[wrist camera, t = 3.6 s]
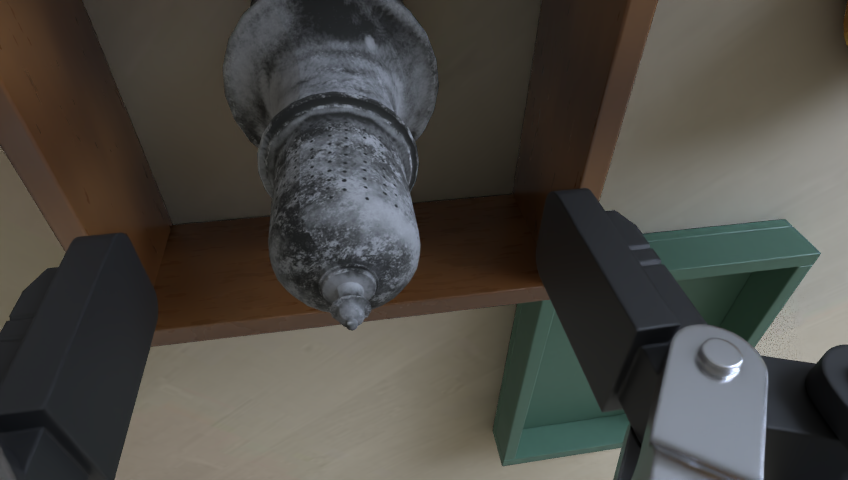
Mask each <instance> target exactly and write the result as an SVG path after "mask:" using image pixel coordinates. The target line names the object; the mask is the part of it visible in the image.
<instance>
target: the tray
mask: <svg viewBox="0 0 848 480" xmlns="http://www.w3.org/2000/svg"><path fill="white" fill-rule="evenodd" d="M643 236H644V237H645V238H646V240H647V241H648V242H649V244H650V248H653V249H654V251H655V252H656V254H657V255H658V256H659V258H660V259H661V264H664V265H665V266H666V267H667V269H668V270H669V272H670V273H671V274H672V276H673V277H674V279H675V280H676V281H677V283H678V284H679V285H680V287H681V288H682V290H683V291H684V292H685V294H686V295H687V297H688V298H689V299H690V301H691V302H692V303H693V305H694V306H695V308H696V309H697V310H698V312H699V313H700V315H701V316H702V317H703V319H704V320H705V321H706V323H707V324H708V325H713V326H717V327H720V328H724V329H726V330H728V331H731V332H733V333H735V334H737V335H738V336H740V337H741V338H743V339H744V340H746V341H747V342H748V343H749V344H751V345H752V346H753V347H755V346H756V344H757V343H758V342H759V340H760V339H761V337H762V336H763V335H764V333H765V332H766V330H767V329H768V327H769V326H770V325H771V323H772V322H773V320H774V319H775V318H776V316H777V315H778V313H779V312H780V310H781V309H782V308H783V306H784V305H785V303H786V302H787V301H788V299H789V298H790V296H791V295H792V294H793V292H794V291H795V289H796V288H797V286H798V285H799V284H800V282H801V281H802V279H803V278H804V277H805V275H806V274H807V272H808V271H809V269H810V268H811V267H812V265H813V264H814V263H815V261H816V260H817V258H818V257H819V256H820V254H821V253H820V252H819V251H818V250H817V249H816V248H815V247H814V246H813V245H812V244H811V243H810V242H809V241H808V240H807V239H806V238H805V237H804V236H802V235H801V234H800V233H799V232H798V231H797V230H796V229H795V228H794V227H792V225H791V224H790V223H789V222H788V221H787V220H785V219H782V220H772V221H762V222H753V223H743V224H733V225H724V226H714V227H705V228H695V229H685V230H676V231H666V232H656V233H647V234H643ZM629 423H630V422H629V420H628V418H627V416H626V414H625V412H624V410H623V409H622V410H615V411H609V412H601V410H600V407H599V405H598V403H597V401H596V399H595V397H594V394H593V392H592V390H591V388H590V386H589V383H588V381H587V379H586V377H585V375H584V373H583V370H582V368H581V366H580V364H579V362H578V359H577V357H576V355H575V353H574V351H573V348H572V346H571V344H570V342H569V340H568V338H567V335H566V333H565V331H564V329H563V327H562V324H561V322H560V320H559V318H558V316H557V314H556V311H555V309H554V307H553V305H552V303H551V300H545V301H536V302H528V303H519V304H517V308H516V313H515V318H514V323H513V328H512V333H511V338H510V344H509V349H508V354H507V359H506V364H505V369H504V375H503V380H502V385H501V390H500V395H499V400H498V405H497V411H496V416H495V421H494V426H493V434H494V437H495V442H496V445H497V449H498V453H499V456H500V460H501V464H502V466H507V465H514V464H520V463H527V462H533V461H539V460H546V459H552V458H559V457H565V456H571V455H578V454H584V453H590V452H597V451H603V450H610V449H616V448H622V444H623V440H624V436H625V433H626V430H627V427H628V425H629Z"/></svg>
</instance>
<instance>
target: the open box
mask: <svg viewBox="0 0 848 480" xmlns="http://www.w3.org/2000/svg"><path fill="white" fill-rule="evenodd" d="M657 3H658V0H542V4H541V11H540V17H539V24H538V30H537V37H536V43H535V50H534V57H533V63H532V70H531V76H530V83H529V89H528V96H527V102H526V109H525V115H524V122H523V128H522V135H521V142H520V148H519V155H518V161H517V168H516V174H515V181H514V187H513V194H509V195H498V196H487V197H476V198H465V199H454V200H443V201H432V202H421V203H412V204H413V209H414V213H415V218H416V222H417V226H418V231H419V237H420V244H421V246H420V256H419V261H418V266H417V270H416V272H415V273H414V275H413V277H412V279H411V281H410V282H409V283H408V284H407V286H406V287H405V288H404V289H403V290H402V291H401V292H400V293H399V294H398V295H397V296H396V297H395V298H394V299H392V300H391V301H389V302H387V303H386V304H384V305H383V306H380V307H377V308H375V309H372V310H371V312H370V314H369V316H368V317H367V318H365V319H364V320H363V322H366V321H374V320H383V319H392V318H400V317H409V316H417V315H426V314H434V313H443V312H451V311H460V310H468V309H477V308H485V307H494V306H502V305H511V304H519V303H528V302H536V301H545V300H550V298H549V296H548V294H547V292H546V290H545V287H544V285H543V283H542V281H541V279H540V276H539V273H538V269H537V264H536V246H537V241H538V235H539V230H540V225H541V220H542V215H543V210H544V205H545V200H546V197H547V195H548V193H549V192H551V191H560V190H570V189H580V188H588V189H589V190H591V191H592V193H593V194H594V196H595V197H596V199H597V200H598V202H599V200H600V197H601V193H602V190H603V187H604V183H605V180H606V176H607V173H608V170H609V166H610V163H611V159H612V156H613V153H614V149H615V146H616V142H617V139H618V136H619V132H620V129H621V125H622V122H623V119H624V115H625V112H626V108H627V105H628V101H629V98H630V95H631V91H632V88H633V84H634V81H635V78H636V74H637V71H638V67H639V64H640V61H641V57H642V54H643V50H644V47H645V44H646V40H647V37H648V33H649V30H650V26H651V23H652V20H653V16H654V13H655V9H656V6H657ZM0 146H1V147H2V149H3V151H4V152H5V154H6V155H7V157H8V159H9V160H10V162H11V164H12V165H13V167H14V169H15V170H16V172H17V173H18V175H19V177H20V178H21V180H22V182H23V183H24V185H25V187H26V188H27V190H28V191H29V193H30V195H31V196H32V198H33V200H34V201H35V203H36V205H37V206H38V208H39V210H40V211H41V213H42V214H43V216H44V218H45V219H46V221H47V223H48V224H49V226H50V228H51V229H52V231H53V232H54V234H55V236H56V237H57V239H58V241H59V242H60V244H61V246H62V247H63V249H64V250H65V252H67V250H68V248H69V246H70V244H71V242H72V241H73V239H74V238H76V237H81V236H91V235H101V234H111V233H124V234H126V235H127V236H128V237H129V239H130V240H131V242H132V244H133V246H134V248H135V250H136V252H137V254H138V256H139V258H140V261H141V263H142V265H143V267H144V269H145V271H146V273H147V275H148V277H149V279H150V281H151V283H152V285H153V287H154V289H155V292H156V295H157V300H158V320H157V324H156V328H155V332H154V335H153V339H152V343H151V346H150V347H153V346H162V345H170V344H179V343H187V342H196V341H204V340H213V339H221V338H230V337H238V336H247V335H255V334H264V333H272V332H281V331H289V330H298V329H306V328H315V327H323V326H332V325H340V322H338V321H337V320H335V319H334V318H333V317H332V316H331V313H330V312H324V311H320V310H318V309H315V308H312V307H310V306H307V305H306V304H304V303H303V302H301V301H300V300H298V299H297V298H295V297H294V296H293V295H291V294H290V293H289V292H288V291H287V290H286V289H285V288H284V287H283V286H282V284H281V283H280V282H279V281H278V280H277V277H276V275H275V273H274V271H273V268H272V265H271V261H270V257H269V245H268V238H269V227H270V216H266V217H255V218H244V219H233V220H222V221H211V222H200V223H189V224H178V225H172V222H171V220H170V217H169V215H168V212H167V210H166V207H165V205H164V202H163V200H162V197H161V195H160V192H159V190H158V187H157V185H156V183H155V180H154V178H153V175H152V173H151V170H150V168H149V165H148V163H147V160H146V158H145V155H144V153H143V150H142V148H141V145H140V143H139V141H138V138H137V136H136V133H135V131H134V128H133V126H132V123H131V121H130V118H129V116H128V113H127V111H126V108H125V106H124V103H123V101H122V99H121V96H120V94H119V91H118V89H117V86H116V84H115V81H114V79H113V76H112V74H111V71H110V69H109V66H108V64H107V61H106V59H105V57H104V54H103V52H102V49H101V47H100V44H99V42H98V39H97V37H96V34H95V32H94V29H93V27H92V24H91V22H90V19H89V17H88V15H87V12H86V10H85V7H84V5H83V2H82V0H0Z"/></svg>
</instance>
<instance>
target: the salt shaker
mask: <svg viewBox="0 0 848 480" xmlns="http://www.w3.org/2000/svg"><path fill="white" fill-rule="evenodd" d="M223 77H224V89H225V96H226V99H227V101H228V104H229V106H230V109H231V112H232V114H233V117H234V119H235V121H236V122H237V124H238V125H239V126H240V128H241V129H242V131H243V132H244V133H245V135H246V136H247V137H248V139H249V140H250V141H251V142H252V143H253V144H254V145H255V146H256V147H258V148H259V149H258V153H257V157H258V173H259V175H260V178H261V180H262V183H263V185H264V188H265V190H266V191H267V193H268V194H269V195H270V196H271V198H272V205H271V216H270V227H269V238H268V245H269V257H270V261H271V265H272V268H273V271H274V273H275V275H276V277H277V280H278V281H279V282H280V283H281V284H282V286H283V287H284V288H285V289H286V290H287V291H288V292H289V293H290V294H291V295H293V296H294V297H295V298H297V299H298V300H300V301H301V302H303V303H304V304H306V305H307V306H310V307H312V308H315V309H318V310H320V311H324V312H330V313H331V316H332V317H333V318H334V319H335V320H337V321H338V322H340V324H342V325H343V326H345V327H347V329H349V330H355V329H356V328H357V326H358V325H360V324H362V322H363V320H364V319H365V318H367V317H368V316H369V314H370V312H371V310H372V309H375V308H377V307H380V306H383V305H384V304H386V303H387V302H389V301H391V300H392V299H394V298H395V297H396V296H397V295H398V294H399V293H400V292H401V291H402V290H403V289H404V288H405V287H406V286H407V284H408V283H409V282H410V281H411V279H412V277H413V275H414V273H415V272H416V270H417V266H418V261H419V256H420V246H421V244H420V237H419V231H418V226H417V222H416V218H415V213H414V209H413V204H412V200H411V196H410V192H411V190H412V188H413V186H414V184H415V182H416V178H417V173H418V167H419V160H418V153H417V146H416V143H415V141H416V140H417V139H418V138H419V137H420V135H421V134H422V133H423V132H424V130H425V128H426V126H427V124H428V122H429V120H430V118H431V116H432V114H433V111H434V108H435V103H436V98H437V92H438V87H439V83H438V72H437V60H436V57H435V55H434V52H433V49H432V47H431V44H430V41H429V39H428V36H427V34H426V32H425V31H424V29H423V28H422V27H421V25H420V24H419V23H418V21H417V20H416V18H415V17H414V16H413V14H412V13H411V12H410V10H409V9H407V8H406V7H405V6H404V4H403V2H402V0H252V1H251V5H250V8H249V9H248V10H247V11H246V12H244V13H243V15H242V17H241V18H240V20H239V22H238V24H237V25H236V27H235V29H234V31H233V32H232V34H231V36H230V38H229V40H228V45H227V50H226V54H225V59H224V64H223Z"/></svg>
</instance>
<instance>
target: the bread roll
mask: <svg viewBox="0 0 848 480" xmlns="http://www.w3.org/2000/svg"><path fill="white" fill-rule="evenodd" d="M843 24H844V38H845V42H846V45H847V46H848V0H847V5H846V11H845V16H844V21H843Z"/></svg>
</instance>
